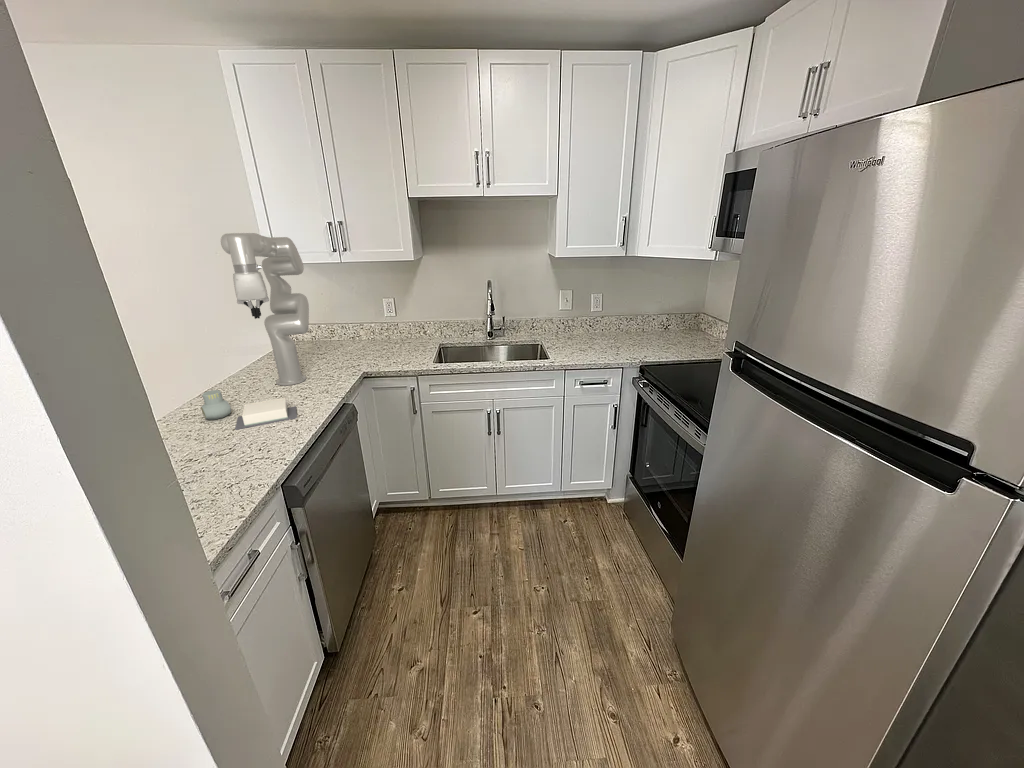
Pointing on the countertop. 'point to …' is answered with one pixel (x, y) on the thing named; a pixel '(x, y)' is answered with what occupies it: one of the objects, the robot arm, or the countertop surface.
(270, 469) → the countertop surface
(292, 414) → the mat
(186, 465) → the countertop surface
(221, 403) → the air freshener
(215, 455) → the countertop surface
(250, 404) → the tile
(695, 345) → the countertop surface
